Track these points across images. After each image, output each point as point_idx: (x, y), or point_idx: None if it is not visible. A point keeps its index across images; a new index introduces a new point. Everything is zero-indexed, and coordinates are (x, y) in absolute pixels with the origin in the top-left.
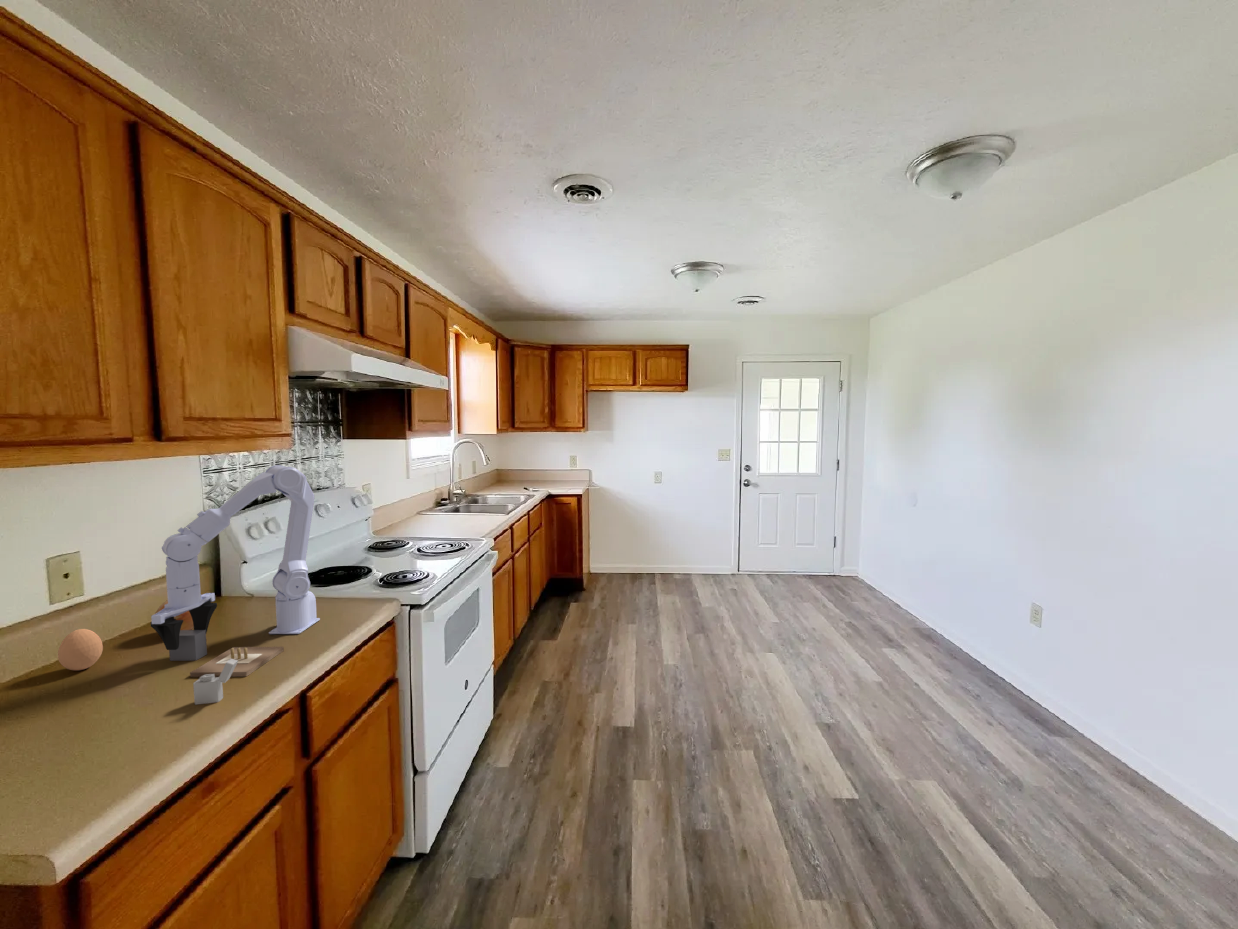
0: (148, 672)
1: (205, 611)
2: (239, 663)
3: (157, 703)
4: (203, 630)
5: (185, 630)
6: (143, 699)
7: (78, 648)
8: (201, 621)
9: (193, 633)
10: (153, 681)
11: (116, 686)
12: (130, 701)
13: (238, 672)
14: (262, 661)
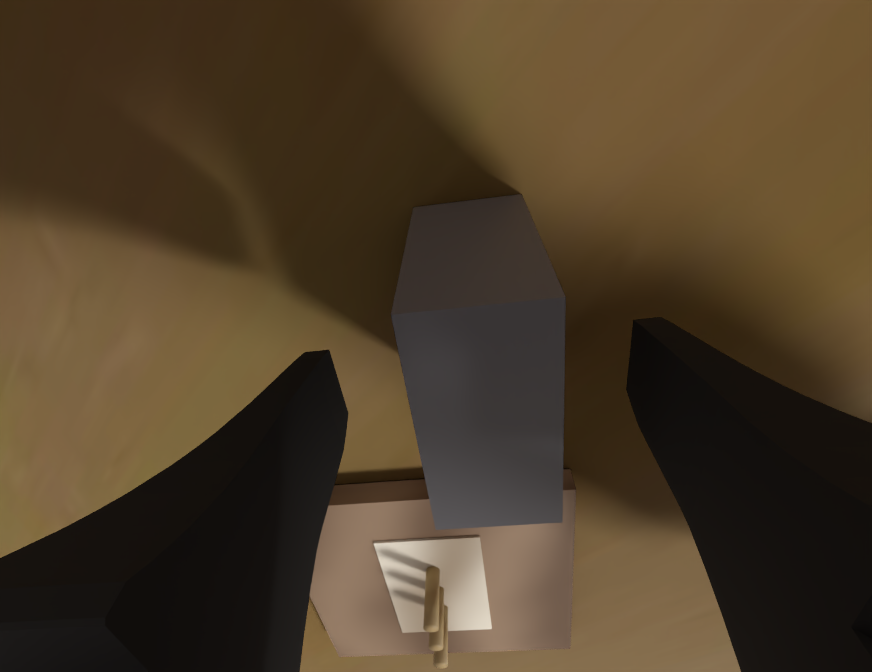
0: (235, 229)
1: (760, 661)
2: (395, 611)
3: None
4: (551, 516)
5: (552, 372)
6: (63, 469)
7: None
8: (696, 482)
9: (476, 495)
10: (176, 369)
11: (32, 211)
12: (21, 437)
13: (331, 639)
14: (430, 652)
